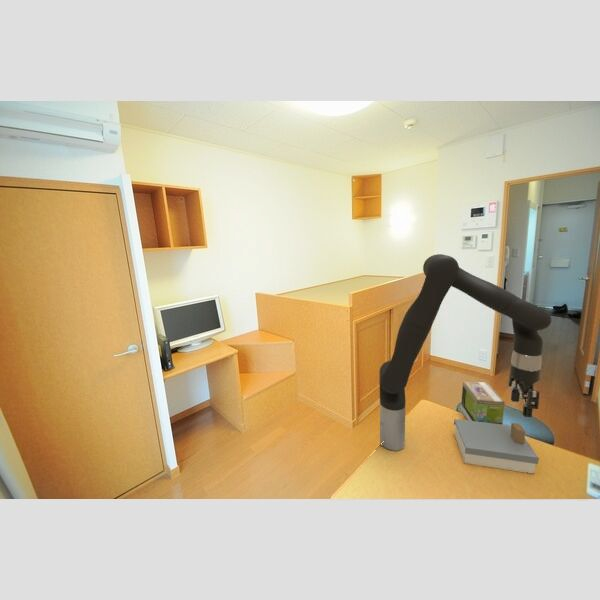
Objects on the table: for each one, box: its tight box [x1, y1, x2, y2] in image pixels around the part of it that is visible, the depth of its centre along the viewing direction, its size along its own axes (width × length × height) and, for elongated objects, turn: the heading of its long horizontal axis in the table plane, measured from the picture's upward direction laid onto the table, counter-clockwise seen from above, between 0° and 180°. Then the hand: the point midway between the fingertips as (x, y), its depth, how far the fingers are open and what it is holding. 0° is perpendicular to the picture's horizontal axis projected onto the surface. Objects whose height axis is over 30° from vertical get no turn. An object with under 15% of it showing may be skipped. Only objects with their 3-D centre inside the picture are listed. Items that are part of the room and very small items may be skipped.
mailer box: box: [454, 423, 536, 474], centre depth 96 cm, size 20×14×6 cm
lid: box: [453, 418, 540, 465], centre depth 95 cm, size 21×15×7 cm
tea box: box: [460, 380, 506, 424], centre depth 111 cm, size 15×10×15 cm, turn 168°
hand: (520, 408), depth 91 cm, fingers open, 8 cm apart
